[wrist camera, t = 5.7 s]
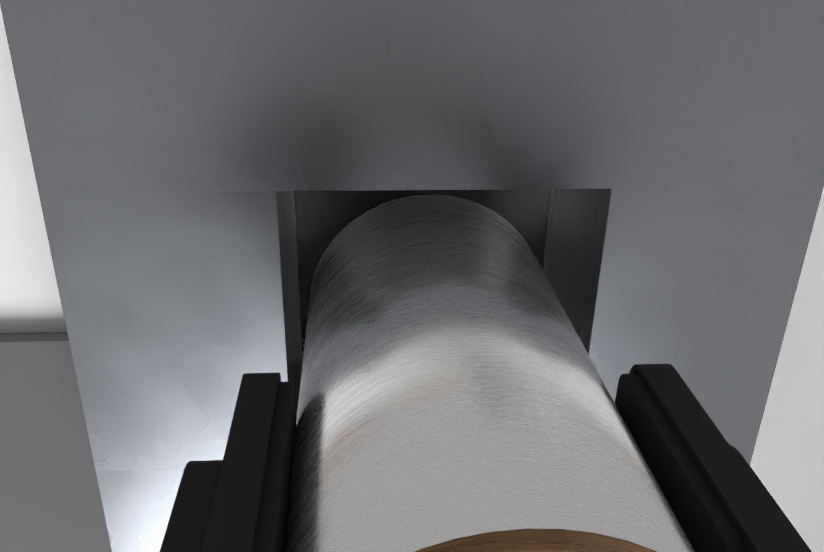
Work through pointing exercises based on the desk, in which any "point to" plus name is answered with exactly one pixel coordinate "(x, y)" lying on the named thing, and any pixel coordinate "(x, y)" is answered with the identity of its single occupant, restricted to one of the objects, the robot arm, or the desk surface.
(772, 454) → the desk surface
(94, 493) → the mat
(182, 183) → the housing
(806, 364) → the desk surface
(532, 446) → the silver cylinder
